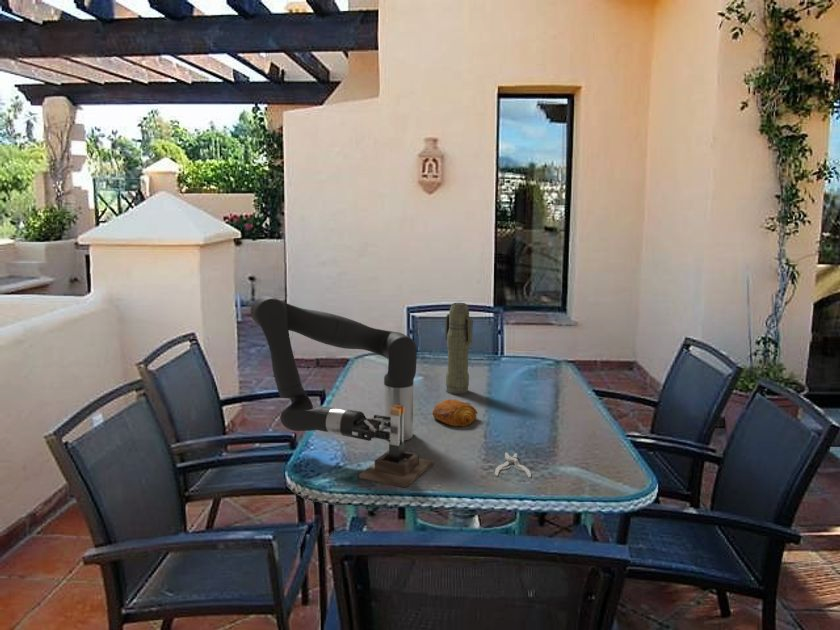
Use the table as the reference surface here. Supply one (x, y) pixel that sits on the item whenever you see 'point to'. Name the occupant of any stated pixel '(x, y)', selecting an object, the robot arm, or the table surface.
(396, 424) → the tongs
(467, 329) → the thermos
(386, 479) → the stand
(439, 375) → the table surface
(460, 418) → the croissant
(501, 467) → the pliers
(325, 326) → the robot arm
